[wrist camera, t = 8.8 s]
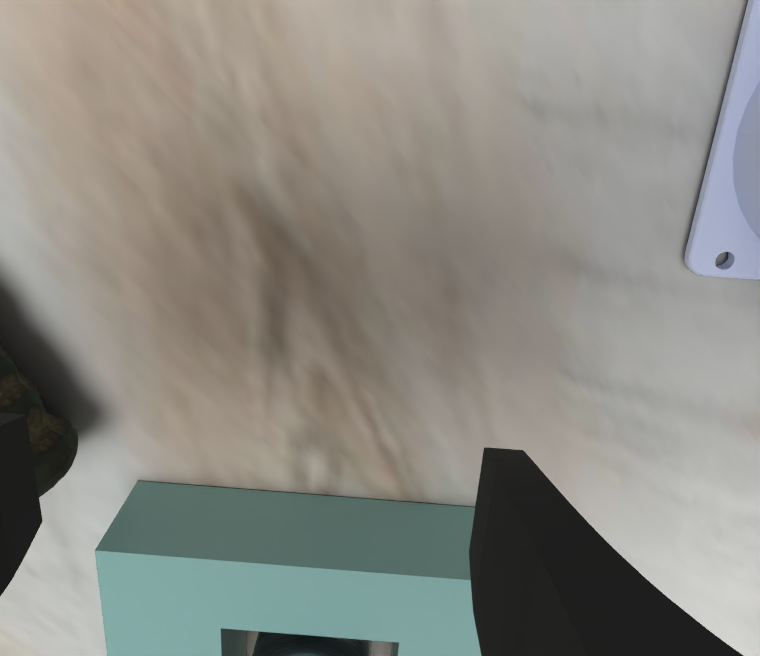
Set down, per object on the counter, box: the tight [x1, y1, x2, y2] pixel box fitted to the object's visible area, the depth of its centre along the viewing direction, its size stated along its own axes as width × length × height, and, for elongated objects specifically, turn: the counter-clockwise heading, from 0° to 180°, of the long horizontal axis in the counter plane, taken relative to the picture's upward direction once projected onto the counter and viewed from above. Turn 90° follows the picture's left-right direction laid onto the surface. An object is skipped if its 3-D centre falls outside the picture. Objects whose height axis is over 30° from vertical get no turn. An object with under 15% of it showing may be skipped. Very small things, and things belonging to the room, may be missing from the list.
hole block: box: [95, 481, 481, 656], centre depth 24 cm, size 13×11×4 cm
